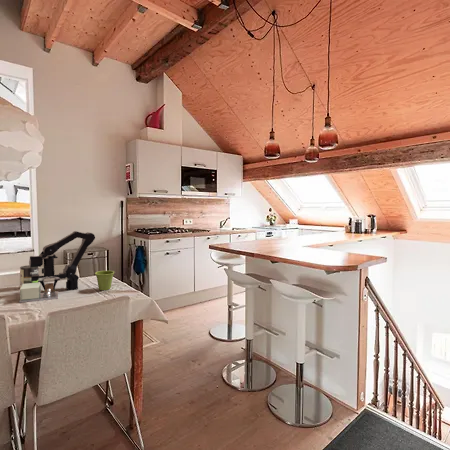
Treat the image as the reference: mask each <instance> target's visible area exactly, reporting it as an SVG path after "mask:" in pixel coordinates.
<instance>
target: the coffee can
mask: <svg viewBox="0 0 450 450" xmlns="http://www.w3.org/2000/svg"><path fill="white" fill-rule="evenodd" d="M19 269H20V271H19V272H20V287H21V286H22V285H23V284H27V283H38V281H31V277H32V275H39V276H40V274H39V273H40V272H39V267H32V268H30V267H29V264H28V265H22V266H20V267H19Z"/></svg>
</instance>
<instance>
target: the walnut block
mask: <svg viewBox="0 0 450 450" xmlns="http://www.w3.org/2000/svg"><path fill="white" fill-rule="evenodd" d="M53 287H54V282H49V283H45V291H44V293H45V292H47V289H51V292H55V291H54V290H55V289H54V290H53Z"/></svg>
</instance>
